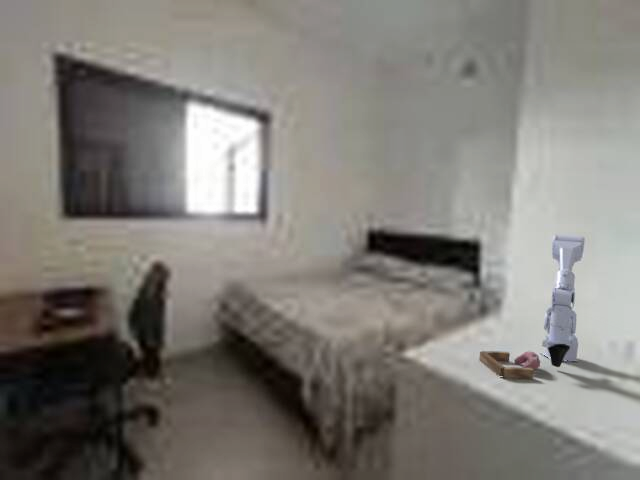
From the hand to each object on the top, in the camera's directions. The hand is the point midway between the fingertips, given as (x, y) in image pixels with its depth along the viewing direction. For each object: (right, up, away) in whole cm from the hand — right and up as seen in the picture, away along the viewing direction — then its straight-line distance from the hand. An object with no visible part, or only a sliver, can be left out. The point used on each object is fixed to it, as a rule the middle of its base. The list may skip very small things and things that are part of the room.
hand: (555, 365), depth 143 cm
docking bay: (-18, -1, -1) cm, 18 cm away
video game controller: (-10, -1, 0) cm, 10 cm away
